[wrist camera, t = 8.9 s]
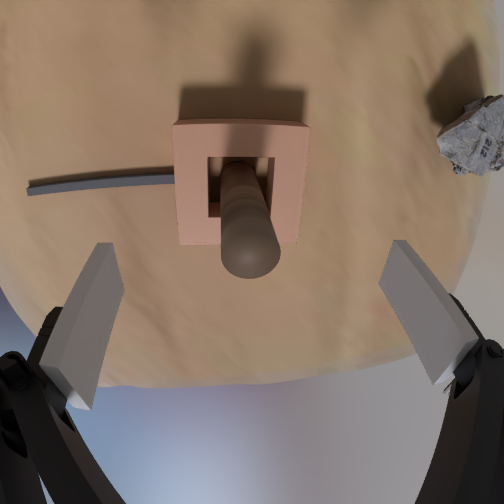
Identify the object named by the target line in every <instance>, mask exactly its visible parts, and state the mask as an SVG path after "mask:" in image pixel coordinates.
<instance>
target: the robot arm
mask: <svg viewBox="0 0 504 504" xmlns="http://www.w3.org/2000/svg"><path fill="white" fill-rule="evenodd" d="M378 284H379V285H380V287H381V289H382V290H383V292H384V294H385V295H386V297H387V299H388V301H389V302H390V304H391V306H392V308H393V309H394V311H395V313H396V315H397V316H398V318H399V320H400V322H401V324H402V325H403V327H404V329H405V331H406V333H407V335H408V336H409V338H410V340H411V342H412V344H413V346H414V348H415V350H416V352H417V354H418V356H419V357H420V360H421V362H422V363H423V366H424V367H425V369H426V372H427V374H428V376H429V378H430V380H431V382H432V384H433V385H435V384H438V383H440V382H444V381H446V380H447V379H448V377H449V376H450V375H451V374H452V373H454V375H455V379H453V381H452V382H451V383H450V384H449V385H448V386H447V387H446V388H445V390H444V392H443V393H444V394H445V393H446V392H447V391H448V390H449V389H450V388H451V390H450V392H449V394H448V395H449V399H448V404H447V408H446V412H445V417H444V420H443V424H442V428H441V432H440V436H439V439H438V442H437V445H436V449H435V452H434V455H433V458H432V461H431V464H430V467H429V469H428V472H427V475H426V477H425V480H424V483H423V485H422V488H421V490H420V492H419V495H418V497H417V500H416V502H415V504H504V349H502V347H501V346H500V345H499V344H498V343H497V342H495V341H494V340H491V339H488V340H485V338H484V337H483V335H482V334H481V332H480V331H479V329H478V328H477V326H476V325H475V323H474V322H473V320H472V319H471V318H470V317H469V315H468V313H467V312H466V310H464V308H463V306H462V305H461V303H460V302H459V301H458V300H457V299H456V298H455V297H454V296H453V295H451V294H450V293H448V292H447V291H446V290H445V288H444V287H443V286H442V285H441V283H440V282H439V281H438V279H437V278H436V277H435V275H434V274H433V273H432V272H431V270H430V269H429V268H428V267H427V265H426V264H425V263H424V262H423V260H422V259H421V258H420V257H419V255H418V254H417V253H416V252H415V251H414V249H413V248H412V247H411V246H410V245H409V244H408V242H407V241H406V240H393V243H392V246H391V249H390V252H389V255H388V258H387V261H386V264H385V267H384V270H383V272H382V275H381V278H380V281H379V283H378ZM124 290H125V289H124V286H123V282H122V278H121V275H120V271H119V267H118V263H117V259H116V255H115V251H114V247H113V243H97V245H96V246H95V248H94V250H93V252H92V253H91V255H90V257H89V259H88V260H87V262H86V264H85V266H84V268H83V270H82V271H81V273H80V275H79V277H78V279H77V281H76V283H75V285H74V287H73V289H72V291H71V293H70V295H69V297H68V299H67V301H66V303H65V305H64V307H55V308H54V309H53V310H52V311H51V312H50V313H49V314H48V315H47V316H46V318H45V321H44V323H43V325H42V328H41V329H40V331H39V333H38V336H37V338H36V340H35V342H34V345H33V347H32V350H31V352H30V354H29V356H28V359H27V361H26V360H25V358H24V357H23V356H22V354H20V353H19V352H17V351H10V352H7V353H5V354H4V355H2V356H1V357H0V504H47V502H46V498H45V495H44V492H43V489H42V485H41V481H40V478H39V475H40V477H41V479H42V481H43V483H44V485H45V487H46V489H47V491H48V493H49V495H50V496H51V498H52V500H53V502H54V504H126V503H125V502H124V500H123V499H122V498H121V496H120V495H119V494H118V492H117V491H116V490H115V489H114V487H113V486H112V484H111V483H110V481H109V480H108V478H107V477H106V476H105V474H104V473H103V471H102V470H101V468H100V467H99V465H98V463H97V462H96V460H95V459H94V457H93V455H92V454H91V452H90V451H89V449H88V447H87V446H86V444H85V442H84V440H83V439H82V437H81V435H80V433H79V431H78V430H77V428H76V426H75V424H74V422H73V420H72V418H71V416H70V414H69V412H68V411H67V409H66V408H65V406H66V402H67V400H68V401H69V402H70V404H71V405H72V406H73V407H75V408H80V409H86V410H91V409H92V404H93V400H94V396H95V391H96V387H97V383H98V379H99V375H100V371H101V367H102V363H103V359H104V355H105V352H106V348H107V345H108V341H109V338H110V334H111V331H112V328H113V324H114V321H115V318H116V315H117V312H118V308H119V305H120V302H121V299H122V296H123V293H124ZM38 473H39V474H38Z"/></svg>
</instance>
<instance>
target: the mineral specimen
mask: <svg viewBox="0 0 504 504" xmlns="http://www.w3.org/2000/svg"><path fill="white" fill-rule="evenodd" d="M464 111H465V113H464V114H463V115H461V116H460V117H459V118H458V119H457V120H456V121H454V122H452V123H451V124H449V125H447V126H446V127H444V128H442V129H441V130H440V131H439V134H438V135H437V144H438V145H439V147H440V151H439V154H440V155H442V156H444V157H446V158H448V159H449V160H450V161H451V162H452V163H453V166H454V169H453V171H454V173H456V174H459V175H465V174H467V173H470V172H472V173H473V174H477V175H479V176H483V175H484V174H485V173H488V172H489V171H494V170H496V171H498V170H500V169H501V167H503V166H504V96H503V95H498V96H495V97H494V96H487V97H486V98H485V99H484V98H478V99H477V100H474V101H473V102H471V103H470V104H467V105H465V106H464Z"/></svg>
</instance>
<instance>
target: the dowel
mask: <svg viewBox="0 0 504 504" xmlns="http://www.w3.org/2000/svg"><path fill="white" fill-rule="evenodd" d="M220 207H221V259H222V263H223V265H224V267H225V268H226V269H227V270H228V271H229V272H230V273H231V274H233V275H235V276H237V277H240V278H245V279H253V278H258V277H261V276H264V275H266V274H268V273H269V272H270V271H272V270H273V269H274V268H275V266H276V265H277V263H278V261H279V259H280V253H281V251H280V246H279V243H278V240H277V236H276V233H275V230H274V227H273V224H272V221H271V218H270V215H269V212H268V210H267V207H266V204H265V201H264V198H263V195H262V192H261V189H260V186H259V183H258V180H257V177H256V174H255V172H254V169H253V168H252V167H251V166H250V165H249V164H248V163H246V162H243V161H234V162H231V163H229V164H227V165H226V166H225V167H224V168H223V170H222V172H221V177H220Z"/></svg>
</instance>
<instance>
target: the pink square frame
mask: <svg viewBox="0 0 504 504" xmlns="http://www.w3.org/2000/svg"><path fill="white" fill-rule="evenodd" d="M172 128H173V157H174V176H175V193H176V207H177V219H178V231H179V242H180V245H206V244H221V207H220V202H219V203H209V157H269V158H268V174H267V189H266V202H265V204H266V207H267V210H268V212H269V215H270V218H271V221H272V224H273V227H274V230H275V233H276V236H277V240H278V243H297V240H298V232H299V225H300V217H301V210H302V202H303V194H304V185H305V177H306V168H307V159H308V150H309V140H310V130H311V127H309V126H307V125H306V124H304V123H302V122H299V121H286V120H268V119H183V120H177V121H176V122H175V123H174V124H173V125H172Z"/></svg>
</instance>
